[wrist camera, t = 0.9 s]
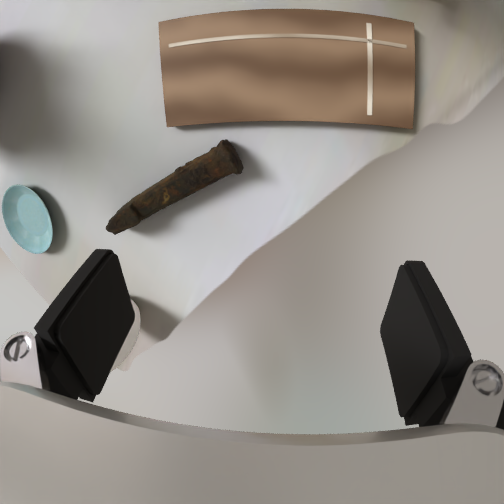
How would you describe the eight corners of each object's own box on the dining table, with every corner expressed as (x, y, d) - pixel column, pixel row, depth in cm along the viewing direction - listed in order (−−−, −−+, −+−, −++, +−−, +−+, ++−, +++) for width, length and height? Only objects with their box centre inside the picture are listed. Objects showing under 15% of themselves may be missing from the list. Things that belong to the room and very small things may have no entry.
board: (163, 24, 26) (158, 22, 24) (408, 24, 23) (414, 22, 22) (171, 124, 32) (166, 127, 30) (407, 126, 29) (412, 129, 28)
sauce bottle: (153, 295, 45) (107, 392, 30) (146, 326, 49) (107, 417, 34) (108, 275, 44) (49, 363, 29) (105, 309, 48) (57, 392, 33)
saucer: (2, 208, 40) (-6, 214, 38) (26, 164, 35) (17, 169, 34) (42, 257, 44) (35, 265, 42) (72, 221, 40) (64, 228, 38)
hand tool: (230, 134, 32) (222, 142, 28) (246, 165, 34) (241, 178, 30) (106, 201, 38) (88, 217, 34) (121, 226, 40) (105, 243, 36)
